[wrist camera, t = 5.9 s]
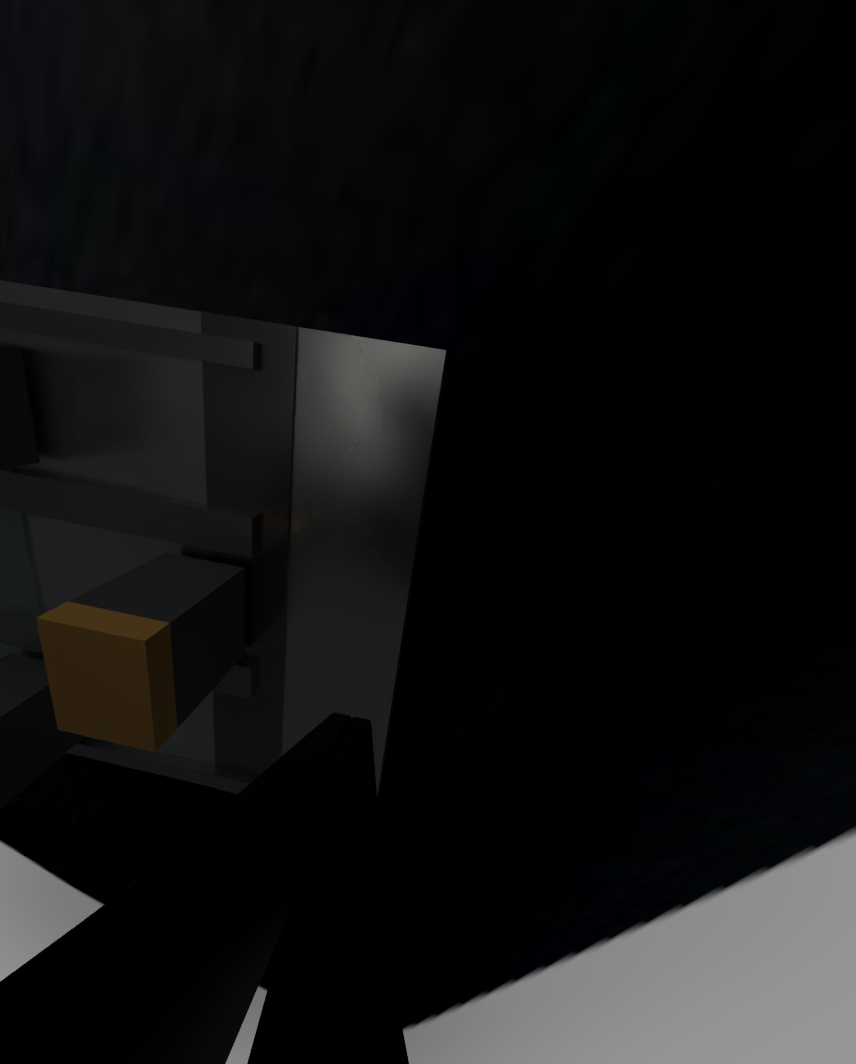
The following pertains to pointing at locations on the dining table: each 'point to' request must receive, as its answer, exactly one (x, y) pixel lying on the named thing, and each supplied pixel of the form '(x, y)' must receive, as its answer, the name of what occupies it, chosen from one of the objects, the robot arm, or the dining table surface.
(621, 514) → the dining table surface
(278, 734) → the panel
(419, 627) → the dining table surface
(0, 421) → the handle
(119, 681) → the handle
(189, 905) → the robot arm
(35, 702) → the handle
